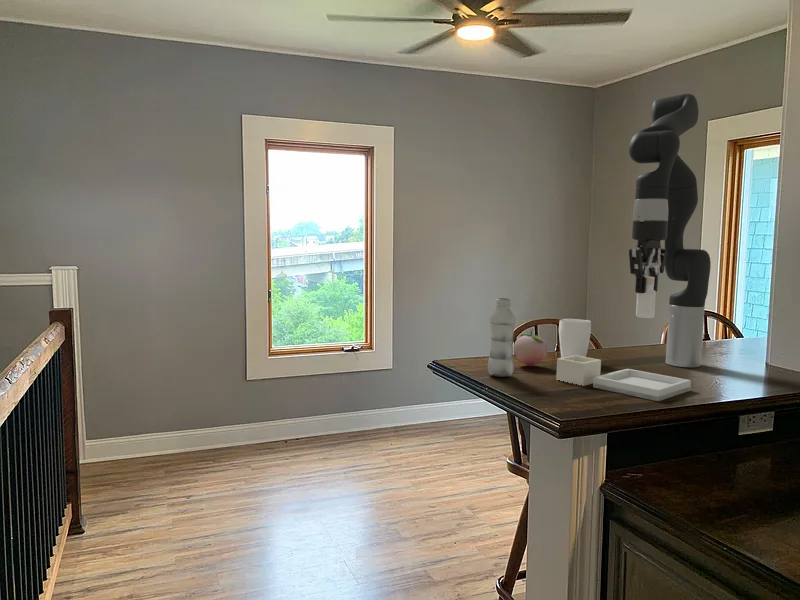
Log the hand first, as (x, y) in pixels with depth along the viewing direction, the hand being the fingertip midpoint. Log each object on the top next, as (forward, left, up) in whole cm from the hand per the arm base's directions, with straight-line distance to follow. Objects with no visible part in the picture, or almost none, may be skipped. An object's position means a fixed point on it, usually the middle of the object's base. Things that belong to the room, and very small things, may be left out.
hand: (646, 292), depth 141 cm
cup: (-16, -29, -23) cm, 40 cm away
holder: (+5, -14, -23) cm, 27 cm away
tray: (0, 0, -23) cm, 23 cm away
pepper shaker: (0, 0, -6) cm, 6 cm away
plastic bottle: (+17, -29, -23) cm, 41 cm away
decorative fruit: (+1, -32, -23) cm, 39 cm away
